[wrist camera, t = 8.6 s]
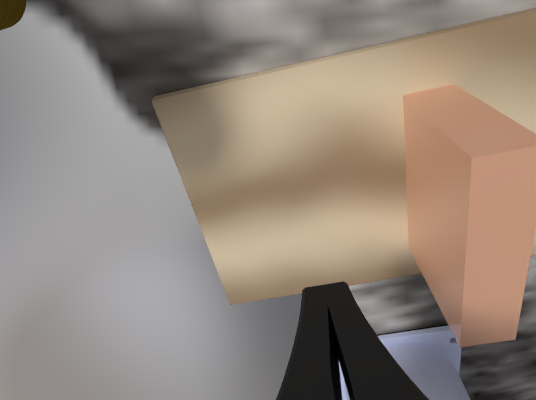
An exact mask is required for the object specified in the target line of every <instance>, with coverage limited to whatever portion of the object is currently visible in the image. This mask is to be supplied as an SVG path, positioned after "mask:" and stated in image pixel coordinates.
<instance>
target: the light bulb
mask: <svg viewBox="0 0 536 400" xmlns="http://www.w3.org/2000/svg"><path fill="white" fill-rule="evenodd" d="M25 7H26V0H0V30H2V29H6V28H9V27H11V26H13V25H15V24H16V23H17V22H19V20H20V19H21V18H22V16H23V14H24V11H25Z"/></svg>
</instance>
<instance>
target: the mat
mask: <svg viewBox="0 0 536 400" xmlns="http://www.w3.org/2000/svg"><path fill="white" fill-rule="evenodd" d="M452 84H455V85H456V86H458V87H460V88H461V89H463V90H465V91H466V92H468V93H470V94H471V95H473V96H474V97H476V98H478V99H479V100H481V101H483V102H484V103H486V104H488V105H489V106H491V107H493V108H494V109H496V110H497V111H499V112H501V113H502V114H504V115H506V116H507V117H509V118H511V119H512V120H514V121H515V122H517V123H519V124H520V125H522V126H524V127H525V128H527V129H529V130H530V131H532V132H533V133H535V134H536V8H534V9H529V10H525V11H521V12H516V13H512V14H508V15H503V16H499V17H495V18H491V19H486V20H482V21H478V22H473V23H469V24H465V25H460V26H456V27H452V28H447V29H443V30H439V31H434V32H430V33H426V34H421V35H417V36H413V37H408V38H404V39H400V40H396V41H391V42H387V43H383V44H378V45H374V46H370V47H365V48H361V49H357V50H352V51H348V52H344V53H339V54H335V55H331V56H326V57H322V58H318V59H314V60H309V61H305V62H301V63H296V64H292V65H288V66H283V67H279V68H275V69H270V70H266V71H262V72H257V73H253V74H249V75H244V76H240V77H236V78H232V79H227V80H223V81H219V82H214V83H210V84H206V85H201V86H197V87H193V88H188V89H184V90H180V91H175V92H171V93H167V94H162V95H158V96H155V97H154V98H153V99H152V100H151V101H152V104H153V107H154V109H155V112H156V114H157V117H158V119H159V122H160V125H161V127H162V130H163V132H164V135H165V137H166V140H167V143H168V145H169V148H170V150H171V153H172V155H173V158H174V161H175V163H176V166H177V168H178V171H179V173H180V176H181V178H182V181H183V184H184V186H185V189H186V191H187V194H188V197H189V199H190V201H191V204H192V207H193V209H194V212H195V215H196V217H197V220H198V222H199V225H200V227H201V230H202V233H203V235H204V238H205V240H206V243H207V245H208V248H209V251H210V253H211V256H212V258H213V261H214V263H215V266H216V268H217V271H218V274H219V276H220V279H221V281H222V284H223V287H224V289H225V292H226V294H227V297H228V299H229V302H230V304H231V305H232V304H237V303H244V302H250V301H256V300H263V299H268V298H274V297H281V296H287V295H293V294H300V293H302V290H303V289H304V288H306V287H312V286H318V285H324V284H330V283H336V282H342V281H344V282H346V283H347V284H348V286H349V285H355V284H361V283H367V282H373V281H380V280H386V279H392V278H398V277H404V276H410V275H417V274H422V272H421V271H420V269H419V267H418V265H417V263H416V261H415V259H414V257H413V255H412V253H411V251H410V249H409V244H408V217H407V190H406V163H405V136H404V109H403V95H405V94H410V93H414V92H419V91H424V90H428V89H433V88H438V87H442V86H447V85H452ZM533 255H536V229H535V234H534V240H533V246H532V251H531V256H533Z"/></svg>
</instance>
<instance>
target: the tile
mask: <svg viewBox="0 0 536 400" xmlns="http://www.w3.org/2000/svg"><path fill="white" fill-rule="evenodd" d="M403 109H404V136H405V163H406V190H407V217H408V244H409V249H410V251H411V253H412V255H413V257H414V259H415V261H416V263H417V265H418V267H419V269H420V271H421V272H422V274H423V276H424V278H425V280H426V282H427V284H428V286H429V288H430V290H431V292H432V294H433V296H434V298H435V300H436V302H437V304H438V306H439V308H440V310H441V312H442V314H443V316H444V318H445V319H446V321H447V323H448V325H449V327H450V329H451V331H452V333H453V335H454V337H455V339H456V341H457V343H458V345H459V347H467V346H474V345H481V344H488V343H495V342H503V341H510V340H516V335H517V329H518V323H519V318H520V312H521V307H522V301H523V296H524V290H525V284H526V279H527V273H528V268H529V262H530V257H531V251H532V246H533V240H534V234H535V229H536V134H535V133H533V132H532V131H530V130H529V129H527V128H525V127H524V126H522V125H520V124H519V123H517V122H515V121H514V120H512V119H511V118H509V117H507V116H506V115H504V114H502V113H501V112H499V111H497V110H496V109H494V108H493V107H491V106H489V105H488V104H486V103H484V102H483V101H481V100H479V99H478V98H476V97H474V96H473V95H471V94H470V93H468V92H466V91H465V90H463V89H461V88H460V87H458V86H456V85H455V84H452V85H447V86H442V87H438V88H433V89H428V90H424V91H419V92H414V93H410V94H405V95H403Z"/></svg>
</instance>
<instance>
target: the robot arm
mask: <svg viewBox="0 0 536 400" xmlns="http://www.w3.org/2000/svg"><path fill="white" fill-rule="evenodd" d="M460 361H461V347H459V345H458V343H457V341H456V339H455V337H454V335H453V333H452V331H451V329H450V327H449V325H448V326H441V327H434V328H427V329H420V330H413V331H407V332H400V333H393V334H386V335H379V336H377V335H376V333H375V332H374V330H373V329H372V327H371V326H370V325H369V323H368V321H367V320H366V318H365V317H364V315H363V313H362V312H361V310H360V308H359V307H358V305H357V303H356V301H355V299H354V297H353V295H352V293H351V291H350V289H349V286H348V284H347V283H346V282H344V281H342V282H336V283H330V284H324V285H318V286H312V287H306V288H304V289H303V290H302V301H301V311H300V317H299V323H298V328H297V332H296V336H295V340H294V345H293V349H292V353H291V356H290V359H289V363H288V366H287V369H286V373H285V376H284V379H283V382H282V385H281V388H280V391H279V393H278V396H277V399H276V400H470V397H469V395H468V393H467V391H466V389H465V387H464V385H463V383H462V381H461V378H460Z"/></svg>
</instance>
